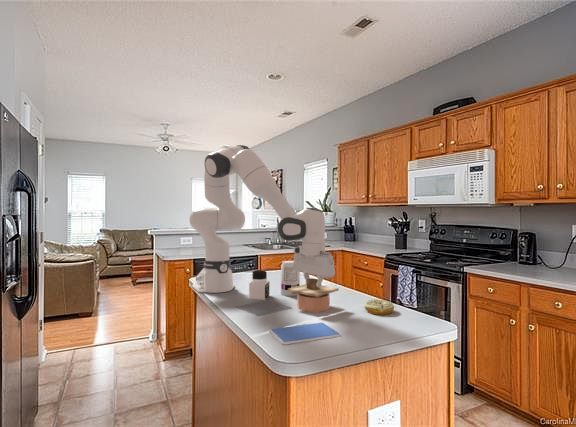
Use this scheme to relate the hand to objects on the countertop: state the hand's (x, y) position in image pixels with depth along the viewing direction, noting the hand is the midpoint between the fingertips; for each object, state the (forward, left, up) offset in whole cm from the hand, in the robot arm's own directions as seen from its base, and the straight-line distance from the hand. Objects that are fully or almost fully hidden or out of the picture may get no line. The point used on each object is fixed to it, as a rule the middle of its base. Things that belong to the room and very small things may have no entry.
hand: (313, 285), depth 135 cm
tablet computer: (+18, -21, -10) cm, 29 cm away
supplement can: (-22, +7, -9) cm, 25 cm away
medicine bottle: (-26, -7, -9) cm, 28 cm away
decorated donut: (+18, +17, -9) cm, 26 cm away
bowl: (0, 0, -9) cm, 9 cm away
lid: (0, 0, -2) cm, 2 cm away
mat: (-12, -15, -9) cm, 21 cm away
